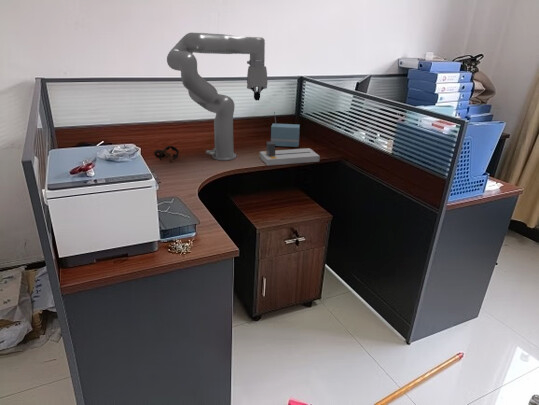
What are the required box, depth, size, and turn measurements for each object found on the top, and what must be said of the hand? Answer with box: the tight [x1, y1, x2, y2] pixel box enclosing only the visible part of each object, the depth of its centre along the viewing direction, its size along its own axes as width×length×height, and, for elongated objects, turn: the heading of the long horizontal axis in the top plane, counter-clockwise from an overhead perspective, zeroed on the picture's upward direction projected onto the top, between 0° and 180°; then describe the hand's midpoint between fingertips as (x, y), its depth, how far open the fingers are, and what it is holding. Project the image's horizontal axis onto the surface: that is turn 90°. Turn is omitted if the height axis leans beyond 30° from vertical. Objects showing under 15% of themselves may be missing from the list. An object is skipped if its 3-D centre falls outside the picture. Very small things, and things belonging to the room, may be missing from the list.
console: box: [259, 147, 320, 166], centre depth 202 cm, size 28×14×3 cm, turn 106°
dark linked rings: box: [153, 145, 180, 164], centre depth 196 cm, size 12×10×8 cm
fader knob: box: [265, 140, 276, 156], centre depth 197 cm, size 3×5×6 cm, turn 16°
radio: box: [270, 111, 301, 149], centre depth 222 cm, size 16×9×20 cm, turn 84°
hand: (256, 99), depth 206 cm, fingers closed
